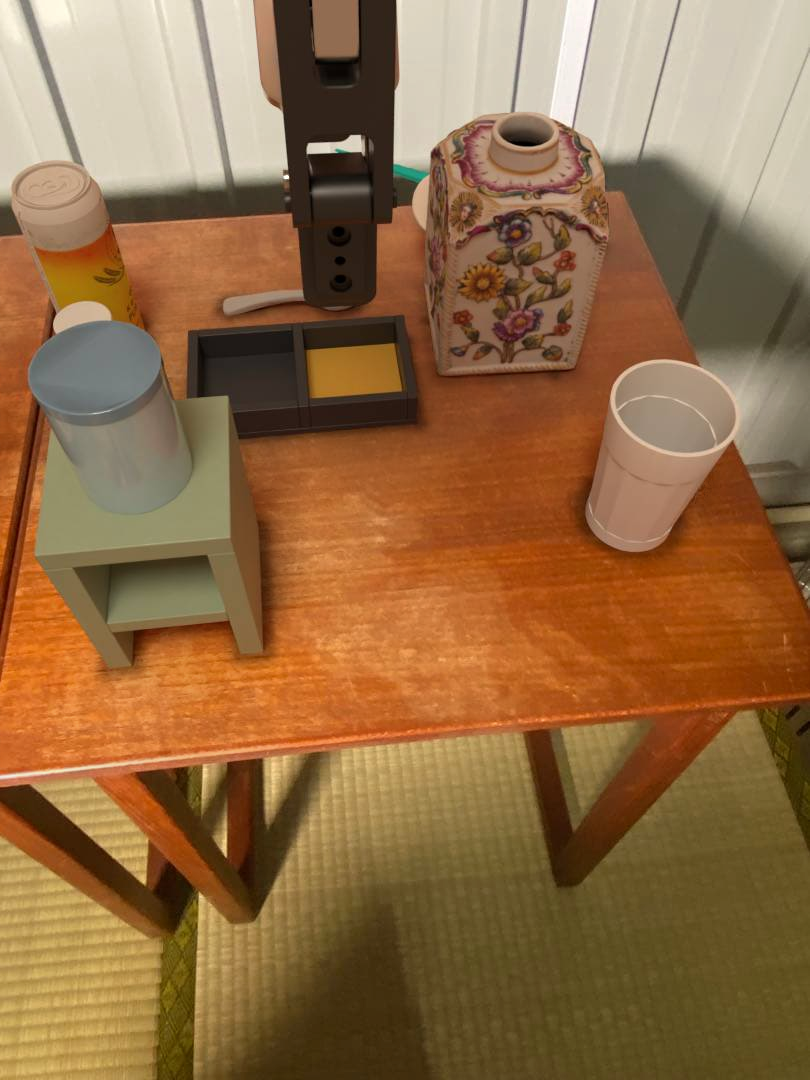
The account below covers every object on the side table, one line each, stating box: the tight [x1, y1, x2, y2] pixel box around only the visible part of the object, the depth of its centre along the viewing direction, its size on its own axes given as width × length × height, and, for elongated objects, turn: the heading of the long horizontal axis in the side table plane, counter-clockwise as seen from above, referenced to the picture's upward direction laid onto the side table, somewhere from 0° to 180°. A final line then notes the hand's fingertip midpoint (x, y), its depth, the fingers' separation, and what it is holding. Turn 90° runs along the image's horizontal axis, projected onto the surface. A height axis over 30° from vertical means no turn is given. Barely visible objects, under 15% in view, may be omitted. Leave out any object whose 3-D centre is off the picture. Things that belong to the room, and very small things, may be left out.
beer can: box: [10, 159, 146, 332], centre depth 64 cm, size 6×6×15 cm
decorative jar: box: [423, 111, 611, 377], centre depth 65 cm, size 12×12×18 cm
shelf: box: [33, 396, 264, 670], centre depth 52 cm, size 10×10×14 cm
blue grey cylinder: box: [27, 320, 193, 515], centre depth 43 cm, size 6×6×8 cm
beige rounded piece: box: [411, 174, 430, 233], centre depth 75 cm, size 5×5×10 cm
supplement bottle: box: [52, 301, 114, 335], centre depth 63 cm, size 5×5×10 cm
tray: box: [186, 314, 419, 440], centre depth 67 cm, size 17×9×3 cm, turn 97°
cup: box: [584, 358, 741, 553], centre depth 57 cm, size 8×8×12 cm
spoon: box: [222, 289, 353, 317], centre depth 73 cm, size 3×12×2 cm, turn 96°
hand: (329, 211), depth 28 cm, fingers open, 8 cm apart
